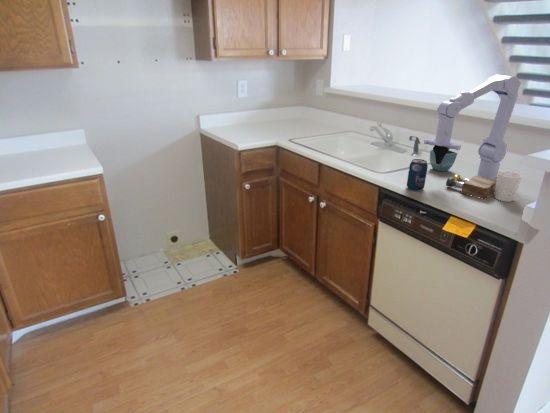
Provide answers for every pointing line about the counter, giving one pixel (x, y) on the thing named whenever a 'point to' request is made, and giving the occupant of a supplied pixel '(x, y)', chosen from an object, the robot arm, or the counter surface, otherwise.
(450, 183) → the plunger
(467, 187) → the catch block
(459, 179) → the plunger
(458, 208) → the counter surface
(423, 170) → the soda can
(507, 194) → the white cup
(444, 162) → the flower pot
